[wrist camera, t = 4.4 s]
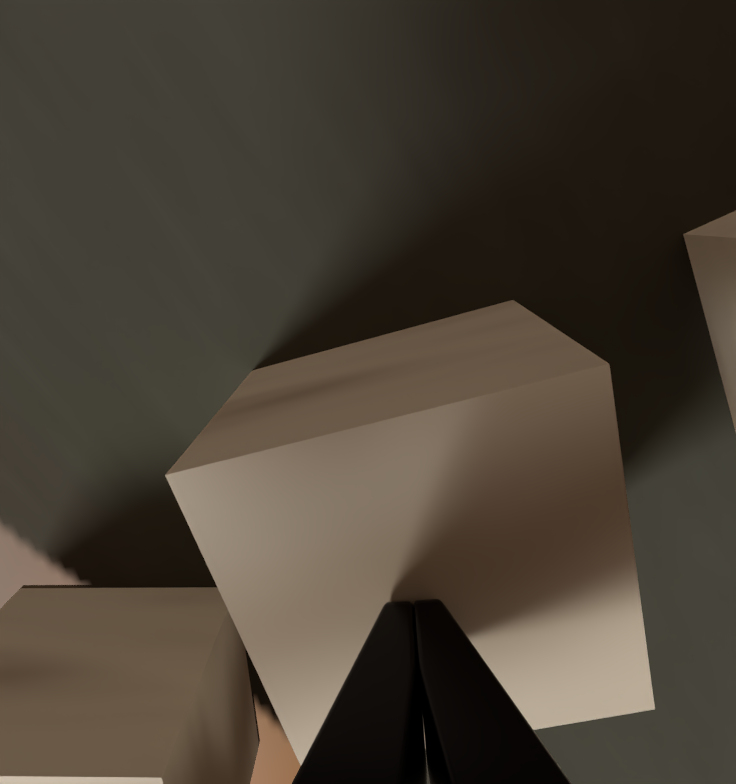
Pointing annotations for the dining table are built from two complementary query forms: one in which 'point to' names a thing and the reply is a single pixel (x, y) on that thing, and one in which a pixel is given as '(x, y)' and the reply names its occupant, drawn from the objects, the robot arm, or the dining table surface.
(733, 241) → the block
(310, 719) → the plain block
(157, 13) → the dining table surface
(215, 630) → the one-stroke block
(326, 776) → the robot arm
